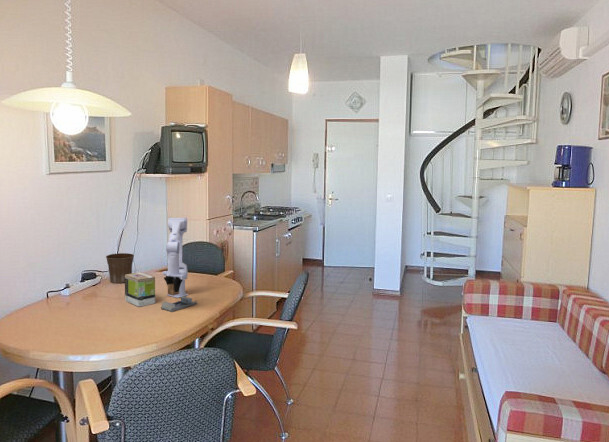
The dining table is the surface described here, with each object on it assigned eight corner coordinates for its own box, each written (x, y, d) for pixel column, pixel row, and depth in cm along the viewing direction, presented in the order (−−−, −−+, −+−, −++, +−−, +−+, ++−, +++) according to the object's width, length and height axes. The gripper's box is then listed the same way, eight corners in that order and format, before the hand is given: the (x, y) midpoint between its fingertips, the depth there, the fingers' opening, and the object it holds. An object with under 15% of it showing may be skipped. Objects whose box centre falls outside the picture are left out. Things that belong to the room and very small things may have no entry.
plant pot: (128, 285, 286) (128, 258, 284) (102, 284, 286) (101, 258, 284) (138, 278, 302) (137, 253, 300) (113, 277, 302) (112, 252, 300)
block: (167, 294, 242) (167, 284, 241) (173, 292, 245) (173, 283, 245) (173, 295, 240) (173, 285, 239) (179, 293, 243) (179, 284, 242)
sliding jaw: (180, 302, 251) (180, 296, 251) (184, 301, 253) (184, 295, 253) (188, 304, 248) (188, 298, 247) (192, 303, 250) (192, 297, 250)
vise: (161, 309, 242) (161, 302, 241) (186, 301, 256) (186, 295, 255) (171, 312, 237) (171, 305, 237) (197, 304, 252) (197, 297, 251)
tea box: (156, 303, 251) (155, 276, 249) (138, 307, 244) (137, 279, 242) (141, 297, 261) (141, 271, 259) (124, 301, 254) (123, 274, 252)
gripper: (157, 264, 241) (157, 290, 243) (177, 268, 233) (177, 295, 235) (168, 261, 247) (168, 287, 249) (187, 265, 239) (188, 292, 241)
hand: (173, 290), depth 242 cm, fingers closed on block, 4 cm apart
